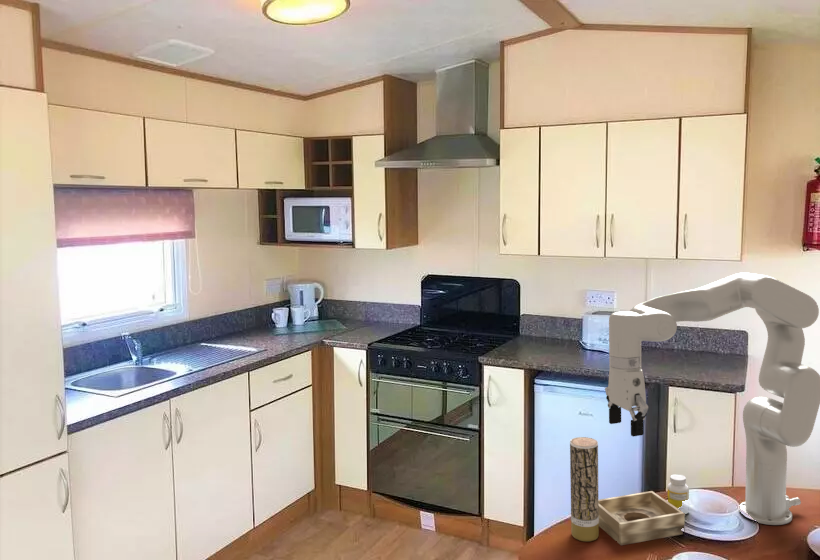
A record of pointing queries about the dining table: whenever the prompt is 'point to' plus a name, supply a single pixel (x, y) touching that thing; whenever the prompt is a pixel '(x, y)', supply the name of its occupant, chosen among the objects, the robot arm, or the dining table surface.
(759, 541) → the dining table surface
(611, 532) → the pine box
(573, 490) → the brown bark cylinder
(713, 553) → the dining table surface
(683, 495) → the supplement bottle
